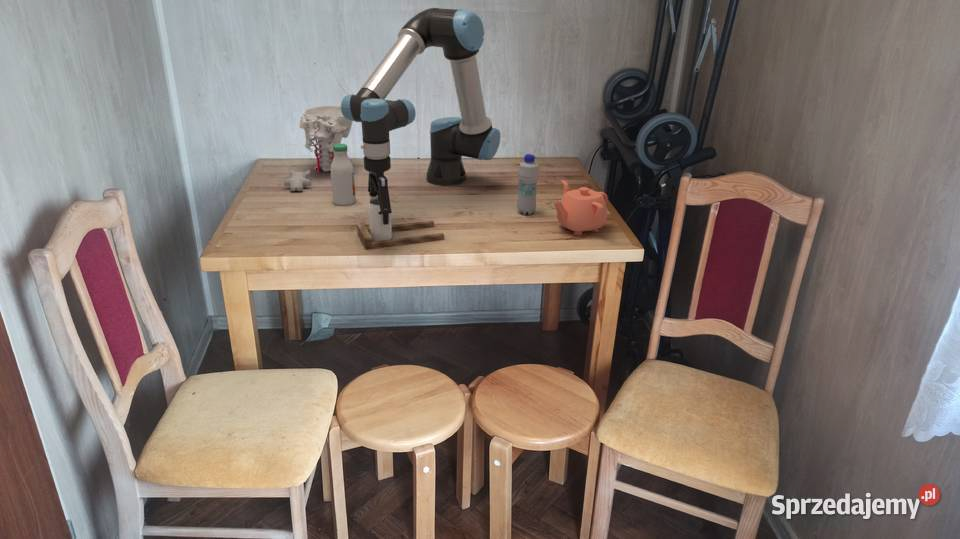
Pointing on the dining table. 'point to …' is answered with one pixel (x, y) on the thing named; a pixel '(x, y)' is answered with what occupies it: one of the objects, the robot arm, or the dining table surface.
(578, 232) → the orange rounded piece
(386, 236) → the can
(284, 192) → the dining table surface
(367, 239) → the guide
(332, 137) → the skull
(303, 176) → the grey lumpy figure
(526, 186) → the bottle
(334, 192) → the milk bottle
